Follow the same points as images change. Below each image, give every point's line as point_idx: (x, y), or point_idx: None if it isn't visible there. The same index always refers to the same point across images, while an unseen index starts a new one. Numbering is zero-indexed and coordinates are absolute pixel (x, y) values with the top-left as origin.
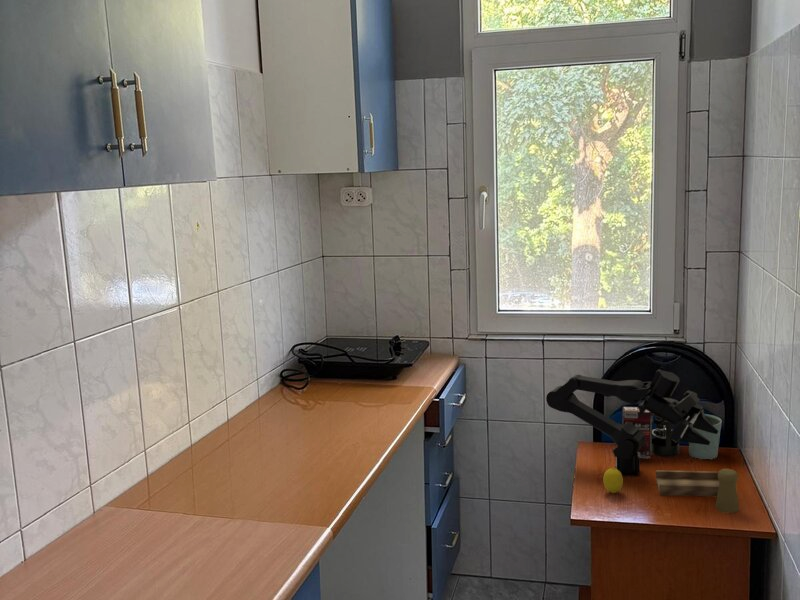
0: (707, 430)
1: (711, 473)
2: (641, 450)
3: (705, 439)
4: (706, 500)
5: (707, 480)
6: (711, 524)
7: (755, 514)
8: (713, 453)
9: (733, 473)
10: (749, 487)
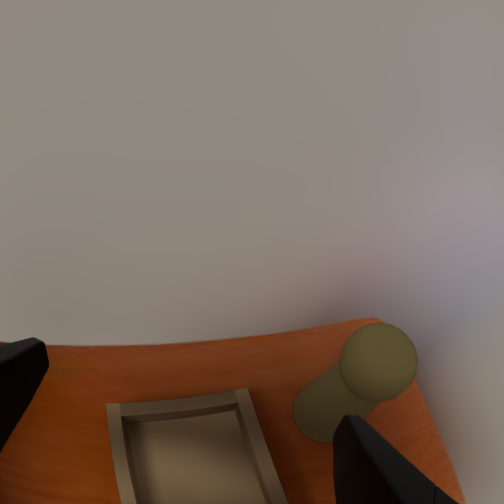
0: (6, 425)
1: (128, 460)
2: None
3: (389, 443)
4: (300, 474)
5: (149, 478)
6: (427, 422)
7: (328, 344)
8: None
9: (396, 329)
10: (152, 354)
